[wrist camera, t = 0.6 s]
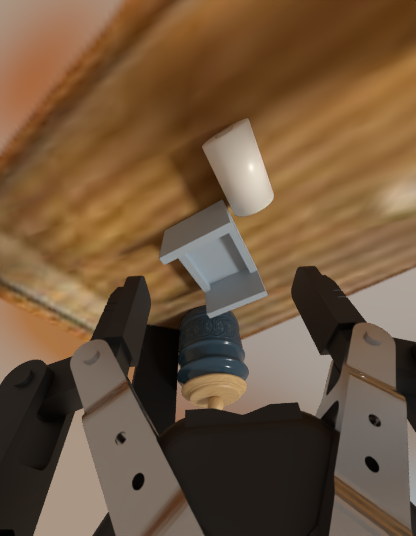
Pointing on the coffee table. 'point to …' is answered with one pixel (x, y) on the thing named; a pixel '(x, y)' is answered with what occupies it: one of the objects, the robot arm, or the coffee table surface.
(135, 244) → the coffee table surface
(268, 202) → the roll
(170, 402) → the long black block
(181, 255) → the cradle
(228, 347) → the canister
